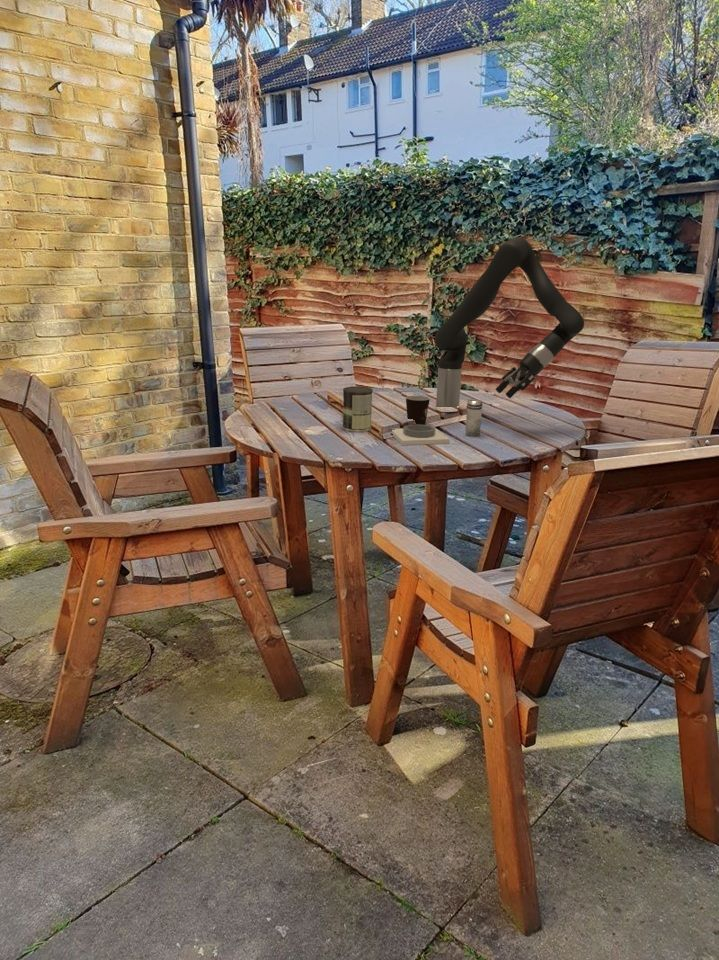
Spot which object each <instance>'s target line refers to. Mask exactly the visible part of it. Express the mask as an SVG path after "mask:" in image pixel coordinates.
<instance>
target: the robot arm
mask: <svg viewBox="0 0 719 960" xmlns="http://www.w3.org/2000/svg"><path fill="white" fill-rule="evenodd" d="M518 267H519V268H520V269H521V270H522V271H523V273H524V274H525V275H526V276H527V278H528V280H529V282H530V284H531V287H532V289H533V293H534V295H535V297H536V299H537V300H538V302H539V303H540V305H541V306H542V307H543V309H544V310H545V311H546V312H547V313H548V315H550V316H551V317H555V319H556V320H557V321H558V322H559V323H558V324H557V325H556V327H554V329H553V330H552V331H550V332H549V333H548V334H547V335H546V336H545V337H543V339H541V341H540V342H539V343H538V344H536V345H535V346H534V347H532V348H531V349H530V350H529V351H528V352H527V354H526V355H524V356H523V358H521V360H519V367H518V368H516V366H513V367H511V369H509V370H508V371H507V372H506V373H505V375H503V376H502V377H501V380H502V382H501V383H500V384H499V385H498V386H497V387H496V388H495V391H496V392H497V393H498V394H501V393H502V392H503V391H504V390H505V389H506V388H507V387H508V386H510V385H513V386H512V387H510V388H509V389H508V390H507V391H506V392H505V396H507V398H508V399H511V398H513V396H514V395H515V394H516V393H518V392H520V391H525V390H526V389H527V387H528V386H529V385H530V384H531V383H533V381H534V380H535V379H536V378H535V377H537V376H538V375H539V374H540V373H541V372H542V371H543V370H544V369H545V368H546V367H547V366H548V365H549V364H550V363H551V361H553V359H554V358H555V357H556V356H557V355H558V354H559V353H560V352H561V351H562V350H563V348H564V347H565V346H566V345H567V344H568V343H569V342H570V341H571V340H573V338H574V337H576V335H578V334H579V333H581V332H582V331H583V329H584V327H585V320H584V317H583V316H582V314H581V313H580V312H579V311H578V310H577V309H576V308H575V307H574V306H573V305H572V304H570V303H569V302H568V301H567V300H566V298H565V297H564V296H563V294H562V293H561V292H560V291H559V289H558V288H557V287H556V286H555V284H554V283H553V281H552V280H551V279H550V277H549V276H548V274H547V273H546V271H545V269H544V268H543V266H542V264H541V263H540V261H539V259H538V257H537V255H536V254H535V251H534V249H533V248H532V246H531V244H530V243H529V241H528V240H526V239H525V238H524V237H522V236H521V237H519V236H518V237H517V236H516V237H513V238H511V239H509V240H507V241H505V242H503V243H502V244H501V245H500V246H499V248H498V249H497V251H496V253H495V254H494V256H493V258H492V260H491V261H490V263H489V265H488V266H487V268H486V269H485V270H484V272H482V274H481V276H479V278H478V279H477V280H476V281H475V282H474V284H473V286H471V288H470V290H469V291H468V292H467V293H466V294H465V297H464V298H463V300H462V301H461V302H460V303H459V305H458V306H457V307H456V309H455V310H454V312H452V314H451V315H450V317H448V318H447V320H446V321H444V323H443V324H442V325H441V326H440V327H439V329H438V330H437V332H436V334H435V336H434V337H435V338H434V343H435V346H436V347H437V349H439V350H440V351H447V352H446V354H445V355H444V356H443V357H442V358H440V359H439V360H438V365H437V383H436V397H435V398H436V399H435V400H436V401H435V402H436V403H435V408H436V407H457V406H459V407H460V400H461V387H462V384H461V383H462V371H463V369H462V368H463V364H464V362H465V357H466V350H467V341H468V339H467V332H466V330H465V327H466V326H468V325H470V324H472V323H473V322H474V321H475V320H477V319H479V318H480V317H482V315H484V313H486V312H487V310H488V309H489V308H490V306H491V305H492V304H493V302H494V301H495V299H496V297H497V295H498V292H499V290H500V287H501V285H502V284H503V283H504V281H505V279H507V277H508V276H509V275H510V274H511V273H512V272H513V271H514V270H515V269H516V268H518Z"/></svg>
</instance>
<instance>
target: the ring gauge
mask: <svg viewBox="0 0 719 960" xmlns="http://www.w3.org/2000/svg"><path fill="white" fill-rule="evenodd" d="M394 429H395V430H392V434H393V435H392V436H393V438H395V440H396V441H398V443H400V444H401V446H417V445H423V446H424V445H441V444H442V445H443V444H444V445H446V444H448V445H449V444H450V441H451V440H450V438H449V437H448V436H446V434H443V433H442V432H441V431H440V430H438V429H437V428H436V427H434V426H432V425H427V424H425V425H420V424H414V425H408V424H407V425H404V427H403V428H402V427H401V428H394Z"/></svg>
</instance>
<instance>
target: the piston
mask: <svg viewBox="0 0 719 960" xmlns="http://www.w3.org/2000/svg"><path fill="white" fill-rule="evenodd" d="M483 403H484V402H483V400H481V399H473V398H471V399H467V404H466V418H465V419H466V420H465V432H464V435H465V436H467V437H472V438H473V437H474V438H475V437H476V438H477V437H480V436H481V425H482V413H483V411H482V410H483V405H484V404H483Z"/></svg>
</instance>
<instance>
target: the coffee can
mask: <svg viewBox="0 0 719 960" xmlns="http://www.w3.org/2000/svg"><path fill="white" fill-rule="evenodd" d="M342 391H343V393H342V397H343V402H342V408H343V409H342V429H343V430H345V431H347V432H352V433H353V432H354V433H364V432H368V431H371V430H372V409H373V407H372V406H373V405H372V404H373V391H374V390H373V388H371V387H367V386H346V387H344V388H342Z"/></svg>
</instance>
